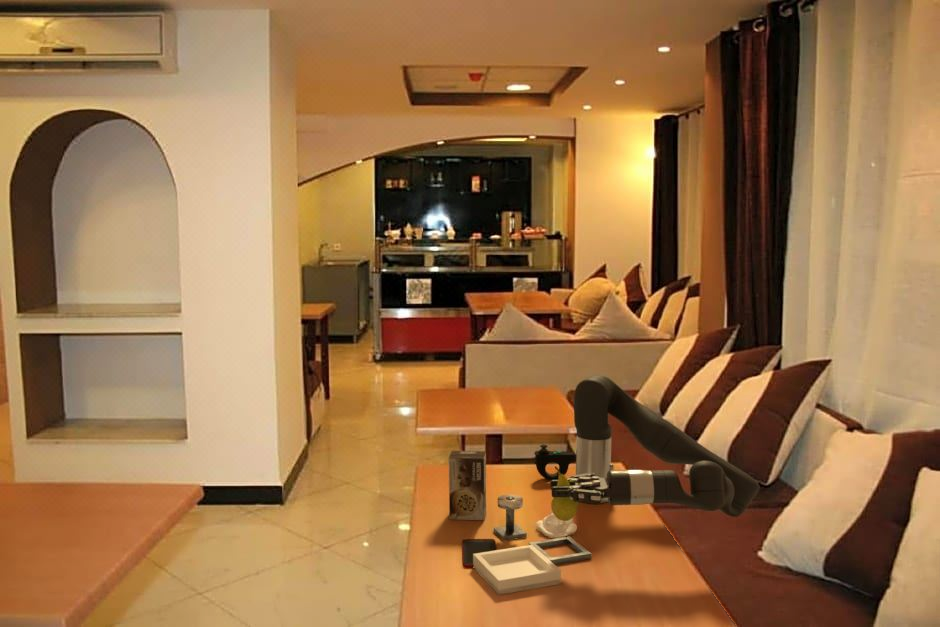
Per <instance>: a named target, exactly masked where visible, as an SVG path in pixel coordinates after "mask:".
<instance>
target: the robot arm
mask: <svg viewBox="0 0 940 627" xmlns="http://www.w3.org/2000/svg"><path fill="white" fill-rule="evenodd" d="M608 414H609V415H610V416H611V417H613V418H615V419H617V420H618V421H619V422H621V424H623V425H624V426H625V428H626V429H627V430H628V431H629V432H630V434H631V435H632V437H633V438H634V439H635V440H636V441H637V442H638V443H639V445H640V446H641V447H643V448H644V449H645V450H646V451H648V452H649V453H650V454H652V455H654V456H655V457H656V458H658V459H659V460H661V461H662V462H665V463H668V464H674V465H691V466H690V468H689V474H688V476H689V477H688V478H689V487H690V490H689V491H690V493H688V492H686V491H685V490H684V488H683V487H682V484H681V480H680V477H679V475H678V473H677V472H676V471H675V470H672V469H668V470H667V469H664V470H663V469H662V470H646V469H614V468H615V465H614V464H613V463H612V433H613V432H612V426H611V425H610V424H609V416H608ZM573 416H574V417H573V421H574V426H575V429H576V436H575V437H576V439H575V441H576V444H575V445H576V446H575V449H576V450H575V454H576V461H575V475H574V474H572V475H570V476H569V478H567V480H568V482H569V484H570V487H569V486H557V483H558V480H559V479H557V480H549V482H550V484H549V486H550V490H551V492H550V493H551V497H552V498H554V497H569V498H571V499H573V501H575V502H578V503H586V504H595V505H600V504H603V503H607V502H608V503H609V505H610V506H641V505H642V506H643V505H650V504H674V505H675V504H676V505H682V506H686V507H691V508H694V509H698V510H701V511H707V512H715V511H718V510H719V511H720V512H723V513H724V514H725V515H728V516H730V517H733V518H737V517H740V516H741V515H743V514H744V512H746V510H747V508H748V507H749V506H750V504H751V502H753V500H754V498H755V497H756V495H757V494H758V492H759V491H760V488H761V487H760V484H759V482H758V481H756V480H755V479H754V478H753V477H752V476H751V475H749V474H747V473H746V472H745V471H743V470H742V469H740V468H738V467H737V466H735V465H734V464H732V463H730V462H728V461H727V460H726V459H723V458H722V457H721V456H719V455H717V454H716V453H714V452H712V451H711V450H709V449H708V448H707V447H705V446H703V445H702V444H701V443H699V442H698V441H697V440H695V439H694V438H693V437H691V436H690V435H688V434H687V433H686V432H684V431H683V430H682V429H680V428H679V427H677V426H675V425H674V424H673V423H671V422H670V421H668V420H667V419H665V418H664V417H662V416H660V415H659V414H657V413H656V412H654V411H653V410H651V409H650V408H648V407H647V406H645V405H643V404H642V403H640V402H639V401H638V400H636V399H635V398H634V397H632V395H629V393H628V392H626V391H625V390H624V389H623V388H622V387H620V386H619V385H618V384H616V382H614V381H613V380H612V379H610V378H609V377H607V376H606V375H603V374H593V375H590V376H589V377H587V378H584V379H583V380H582V381H580V382H579V383H578V384H577V385H576V387H575V390H574V394H573Z"/></svg>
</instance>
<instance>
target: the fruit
mask: <svg viewBox="0 0 940 627" xmlns="http://www.w3.org/2000/svg"><path fill="white" fill-rule="evenodd" d="M554 469H555V470H556V472H558V473H559V479H557V480H558V483H557V486H569V487H570V484H569V482H568V478H567V477H566V476H565V475H563V474H560V472H559V467H557V466H556V465H555V466H554ZM550 504H551V506H550V507H551V508H550V509H551V512H552V513H554V515H555V516H556V517H557V518H558V519H559V520H562V521H568V520H570V519H571V518H572V519H573V517H575V516H576V514H577V512H578V508H579V502H575V501H573V499H571V498H569V497H552V500H551V503H550Z"/></svg>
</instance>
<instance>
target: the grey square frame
mask: <svg viewBox="0 0 940 627" xmlns="http://www.w3.org/2000/svg"><path fill="white" fill-rule="evenodd" d="M562 544H564V545H567V546H568V547H570V548H571V547H572V548H571V549H572V550H574V551H575V552H576V551H577V552H576V553H572V554H564V555H559V556H551V554H548V553H547V552H546V551H545V550H544V549H543V548H542V547H545V548H549V547H550V546H551V547H557V546H562ZM528 545H533V546H534V547H535V548H536V549H537V550H538V551H539V552H541V553H542V554H543V555H544V556H545V557H546V558H548V559H549V560H550V561H551V562H552V563H553V564H555V565H556V566H557V565H560V564H567V563H568V564H569V563H573V562H574V563H575V562H579V560H580V561H584V560H583V559H586V560H590V559H589V558H591V559H592V552H590V551H589V550H588V549H586V548H585V547H583V545H581V544H580V543H579V542H577V541H576V540H574V539H573V538H572V537H571V536H567V537H562V538H549V539H544V540H537V541H531V542H528ZM556 545H557V546H556Z"/></svg>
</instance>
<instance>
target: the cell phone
mask: <svg viewBox="0 0 940 627" xmlns="http://www.w3.org/2000/svg"><path fill="white" fill-rule="evenodd" d="M461 544H462V546H461V548H462V549H461V550H462V566H464V567H465V569H474V568H473V567H474V565H473V554H476V553H482V552H489V551H495V550H498V548H497V544H496V539H494V538H465V539H464V538H463V539H462V542H461ZM464 567H463V568H464Z"/></svg>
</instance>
